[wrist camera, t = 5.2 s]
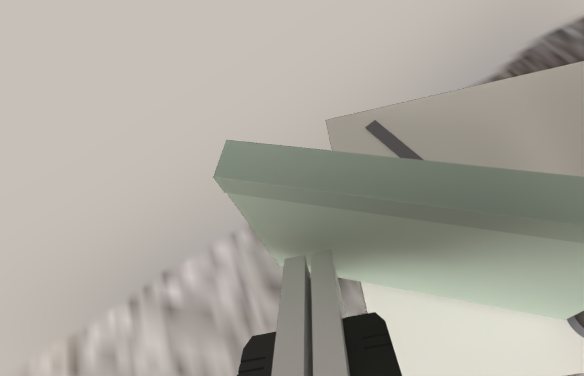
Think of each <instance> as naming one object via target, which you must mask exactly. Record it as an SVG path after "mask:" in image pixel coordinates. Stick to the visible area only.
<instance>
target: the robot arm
mask: <svg viewBox="0 0 584 376" xmlns="http://www.w3.org/2000/svg"><path fill="white" fill-rule="evenodd" d="M238 372H239V374H238V375H237V376H402V374H401V370H400V367H399V364H398V361H397V357H396V354H395V351H394V348H393V345H392V341H391V338H390V335H389V331H388V328H387V325H386V322H385V320H384V319H382V318H381V317H380V316H379V315H378V314H377V313H376V312H373V313H367V314H362V315H357V316H351V317H346V312H345V308H344V303H343V299H342V295H341V290H340V286H339V282H338V277H337V273H336V269H335V264H334V260H333V256H332V251H331V249H330V250H325V251H320V252H315V253H311V277H310V273H309V269H308V265H307V261H306V258H305V255H300V256H295V257H291V258H286V259H285V260H284V269H283V278H282V286H281V295H280V304H279V312H278V321H277V330H276V332H272V333H267V334H262V335H256V336H252V338H251V339H250V340H249V342H248V343H247V344H246V346H245V347H244V349H243V353H242V358H241V364H240V366H239V371H238Z"/></svg>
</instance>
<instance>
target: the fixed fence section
mask: <svg viewBox="0 0 584 376" xmlns="http://www.w3.org/2000/svg"><path fill="white" fill-rule="evenodd" d="M574 316H575V318H576V320H577V321H578V323H579V324H580V325H581V326H582V327H583V328H584V311H582V312H580V313H578V314H576V315H574Z"/></svg>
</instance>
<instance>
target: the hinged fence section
mask: <svg viewBox="0 0 584 376" xmlns="http://www.w3.org/2000/svg"><path fill="white" fill-rule="evenodd" d="M213 178H214V179H215V180H216V182H217V183H218V184H219V186H220V187H221V188H222V190H223V191H224V192H225V193H227V194H228V196H229V197H230V199H231V200H232V201H233V203H234V204H235V205H236V207H237V208H238V209H239V211H240V212H241V214H242V215H243V216H244V218H245V219H246V220H247V222H248V223H249V225H250V226H251V227H252V229H253V230H254V231H255V233H256V234H257V235H258V237H259V238H260V240H261V241H262V242H263V244H264V245H265V246H266V248H267V249H268V251H269V252H270V253H271V255H272V256H273V257H274V259H275V260H276V261H277V263H278V264H279V266H280V267H284V260H285V259H286V258H291V257H295V256H300V255H305V258H306V261H307V265H308V269H309V272H311V253H315V252H320V251H325V250H330V249H331V251H332V256H333V260H334V264H335V269H336V273H337V277H339V278H344V279H349V280H355V281H360V282H365V283H371V284H376V285H381V286H387V287H392V288H397V289H403V290H408V291H413V292H419V293H424V294H429V295H435V296H440V297H446V298H451V299H456V300H462V301H467V302H472V303H478V304H483V305H488V306H494V307H499V308H504V309H510V310H515V311H520V312H526V313H531V314H536V315H542V316H547V317H552V318H558V319H563V320H566V319H568V318H570V317H572V316H574V315H576V314H578V313H580V312H582V311H584V177H581V176H571V175H561V174H552V173H542V172H532V171H523V170H513V169H503V168H494V167H484V166H475V165H465V164H455V163H446V162H436V161H426V160H417V159H407V158H397V157H388V156H378V155H368V154H359V153H349V152H339V151H329V150H320V149H310V148H301V147H291V146H281V145H272V144H262V143H253V142H243V141H242V142H241V141H233V140H226V143H225V146H224V148H223V151H222V154H221V157H220V160H219V162H218V165H217V168H216V171H215V174H214V176H213Z"/></svg>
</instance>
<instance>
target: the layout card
mask: <svg viewBox="0 0 584 376" xmlns="http://www.w3.org/2000/svg"><path fill="white" fill-rule="evenodd" d="M326 125H327V129H328V134H329V139H330V143H331V148H332V151H339V152H349V153H359V154H368V155H378V156H388V157H397V158H407V159H417V160H426V161H436V162H446V163H455V164H465V165H475V166H484V167H494V168H503V169H513V170H523V171H532V172H542V173H552V174H561V175H571V176H581V177H584V61H581V62H577V63H573V64H568V65H564V66H559V67H555V68H551V69H546V70H542V71H538V72H533V73H529V74H525V75H520V76H516V77H511V78H507V79H503V80H498V81H494V82H490V83H485V84H481V85H477V86H472V87H468V88H463V89H459V90H455V91H450V92H446V93H442V94H437V95H433V96H429V97H424V98H420V99H415V100H411V101H407V102H402V103H398V104H394V105H389V106H385V107H381V108H376V109H372V110H367V111H363V112H359V113H355V114H350V115H346V116H342V117H337V118H332V119H328V120H326ZM361 285H362V290H363V294H364V299H365V303H366V308H367V313H373V312H376V313H377V314H378V315H379V316H380V317H381V318H382V319H384V320H385V322H386V325H387V328H388V331H389V335H390V338H391V341H392V345H393V348H394V351H395V354H396V357H397V361H398V364H399V367H400V370H401V374H402V376H565V375H572V374H578V373H584V328H583V327H582V326H581V325H580V324H579V323H578V321H577V320H576V318H575V316H572V317H570V318H568V319H566V320H563V319H558V318H552V317H547V316H542V315H536V314H531V313H526V312H520V311H515V310H510V309H504V308H499V307H494V306H488V305H483V304H478V303H472V302H467V301H462V300H456V299H451V298H446V297H440V296H435V295H429V294H424V293H419V292H413V291H408V290H403V289H397V288H392V287H387V286H381V285H376V284H371V283H365V282H361Z"/></svg>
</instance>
